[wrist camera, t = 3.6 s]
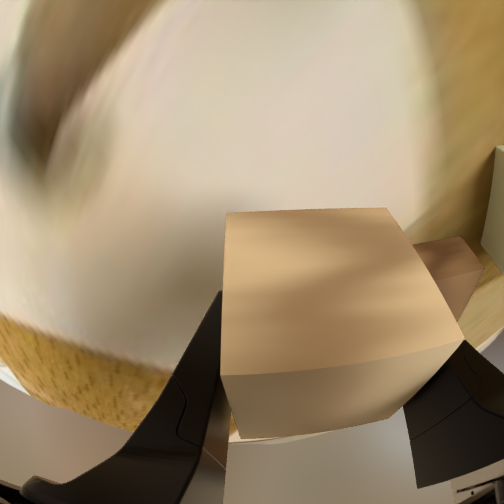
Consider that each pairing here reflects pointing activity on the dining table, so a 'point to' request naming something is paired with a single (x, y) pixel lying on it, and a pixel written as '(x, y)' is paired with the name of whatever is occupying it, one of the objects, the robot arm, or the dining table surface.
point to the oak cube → (326, 320)
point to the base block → (452, 270)
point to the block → (496, 214)
